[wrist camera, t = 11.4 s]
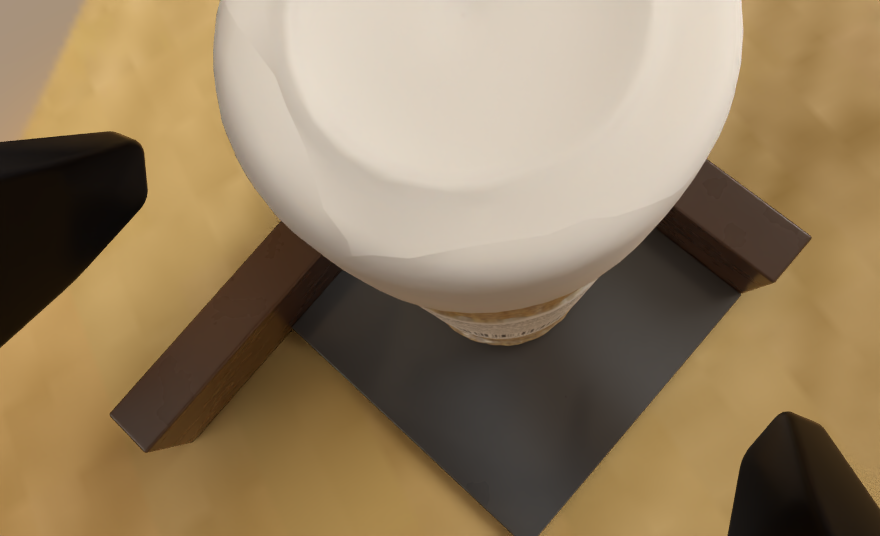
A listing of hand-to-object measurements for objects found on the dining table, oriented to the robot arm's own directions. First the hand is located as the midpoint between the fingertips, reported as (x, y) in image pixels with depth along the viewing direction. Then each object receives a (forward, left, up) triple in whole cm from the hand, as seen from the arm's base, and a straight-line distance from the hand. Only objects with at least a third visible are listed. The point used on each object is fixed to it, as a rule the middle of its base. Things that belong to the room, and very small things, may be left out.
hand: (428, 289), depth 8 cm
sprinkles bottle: (+2, +1, -10) cm, 10 cm away
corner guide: (0, 0, -10) cm, 10 cm away
